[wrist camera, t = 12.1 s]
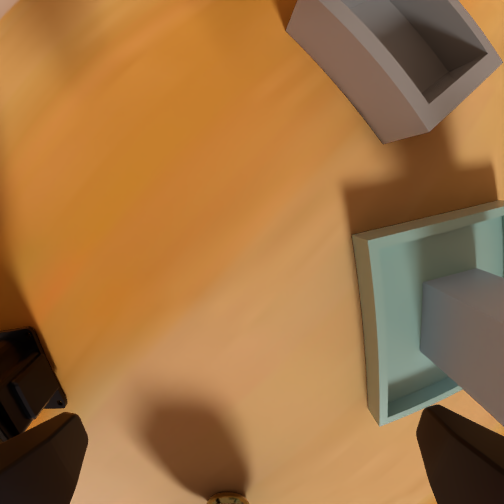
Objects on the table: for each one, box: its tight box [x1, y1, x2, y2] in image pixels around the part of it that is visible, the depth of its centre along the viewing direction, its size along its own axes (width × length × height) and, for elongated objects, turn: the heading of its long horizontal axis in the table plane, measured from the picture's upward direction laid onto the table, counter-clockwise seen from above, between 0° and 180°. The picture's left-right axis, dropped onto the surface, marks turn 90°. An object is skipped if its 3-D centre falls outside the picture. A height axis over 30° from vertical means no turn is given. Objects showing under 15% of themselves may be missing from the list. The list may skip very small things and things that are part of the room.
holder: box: [286, 0, 503, 144], centre depth 14 cm, size 9×9×5 cm
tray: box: [352, 200, 504, 427], centre depth 19 cm, size 13×13×2 cm
